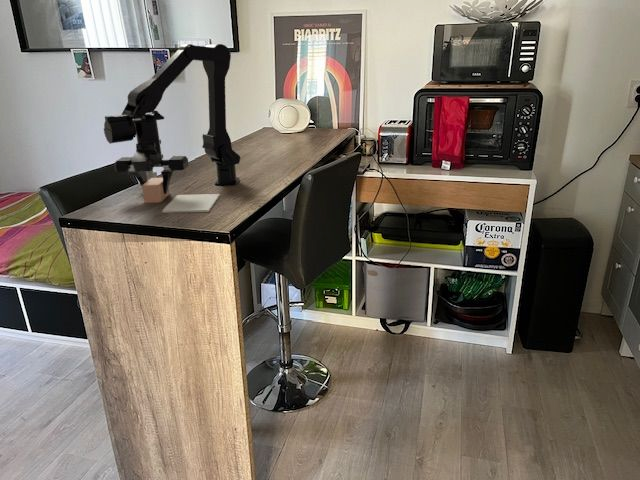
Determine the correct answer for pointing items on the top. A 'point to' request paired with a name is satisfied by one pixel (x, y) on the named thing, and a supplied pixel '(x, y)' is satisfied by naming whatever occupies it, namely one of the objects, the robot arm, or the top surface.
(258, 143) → the top surface
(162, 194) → the tan rectangular block
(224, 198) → the top surface
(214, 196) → the mat
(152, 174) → the grey jagged block
